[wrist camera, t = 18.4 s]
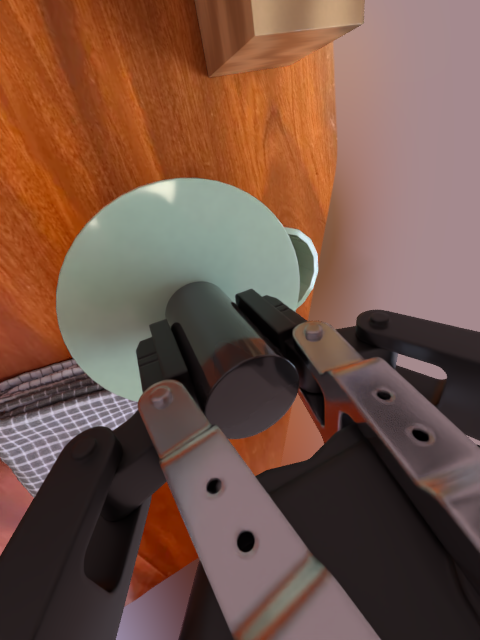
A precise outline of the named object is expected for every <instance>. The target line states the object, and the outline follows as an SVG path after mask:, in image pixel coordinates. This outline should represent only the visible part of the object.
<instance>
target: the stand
mask: <svg viewBox="0 0 480 640" xmlns="http://www.w3.org/2000/svg"><path fill="white" fill-rule="evenodd" d="M194 1H195V6H196V11H197V17H198V22H199V28H200V33H201V39H202V44H203V49H204V55H205V60H206V66H207V71H208V76H209V77H216V76H223V75H229V74H236V73H243V72H250V71H256V70H263V69H270V68H277V67H284V66H290V65H292V64H294V63H295V62H297V61H299V60H301V59H302V58H304V57H306V56H308V55H309V54H311V53H313V52H315V51H316V50H318V49H320V48H322V47H323V46H325V45H327V44H329V43H330V42H332V41H334V40H336V39H337V38H339V37H341V36H343V35H345V34H346V33H348V32H350V31H352V30H353V29H355V28H357V27H359V26H360V25H362V24H363V23H364V3H365V0H194Z"/></svg>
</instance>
